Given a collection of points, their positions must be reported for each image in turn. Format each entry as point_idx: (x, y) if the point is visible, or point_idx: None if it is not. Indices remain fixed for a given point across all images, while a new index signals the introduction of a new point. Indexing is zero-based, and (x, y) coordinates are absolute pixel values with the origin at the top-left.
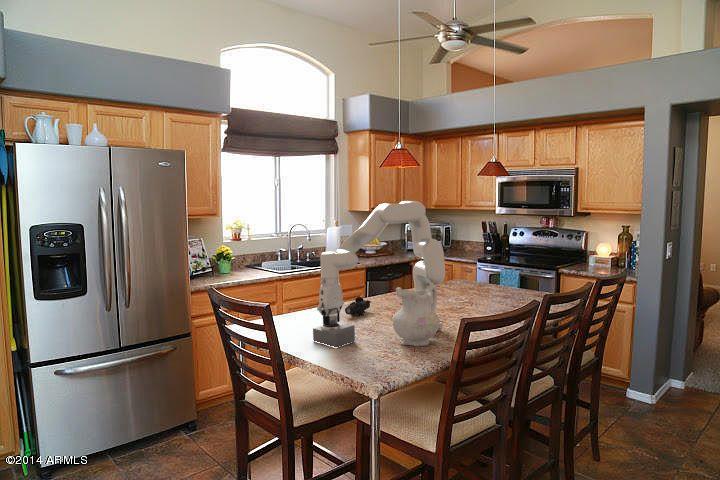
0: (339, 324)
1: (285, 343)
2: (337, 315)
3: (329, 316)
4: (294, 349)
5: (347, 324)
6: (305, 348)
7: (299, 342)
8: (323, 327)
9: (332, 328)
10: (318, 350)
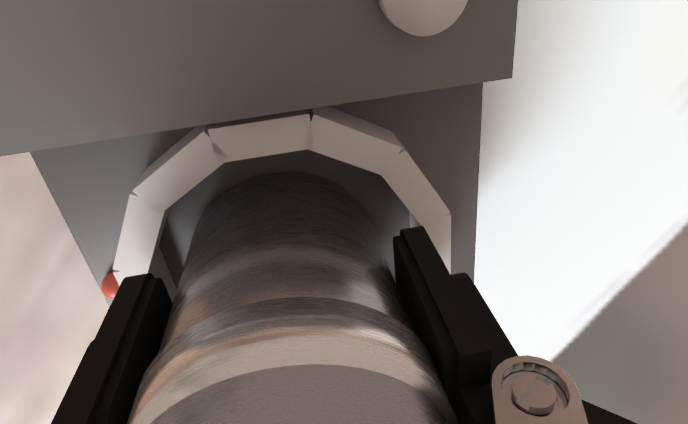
0: (159, 224)
1: (572, 337)
2: (166, 350)
3: (419, 351)
4: (654, 192)
5: (21, 93)
6: (589, 155)
7: (498, 305)
8: (448, 252)
9: (442, 67)
10: (573, 13)
